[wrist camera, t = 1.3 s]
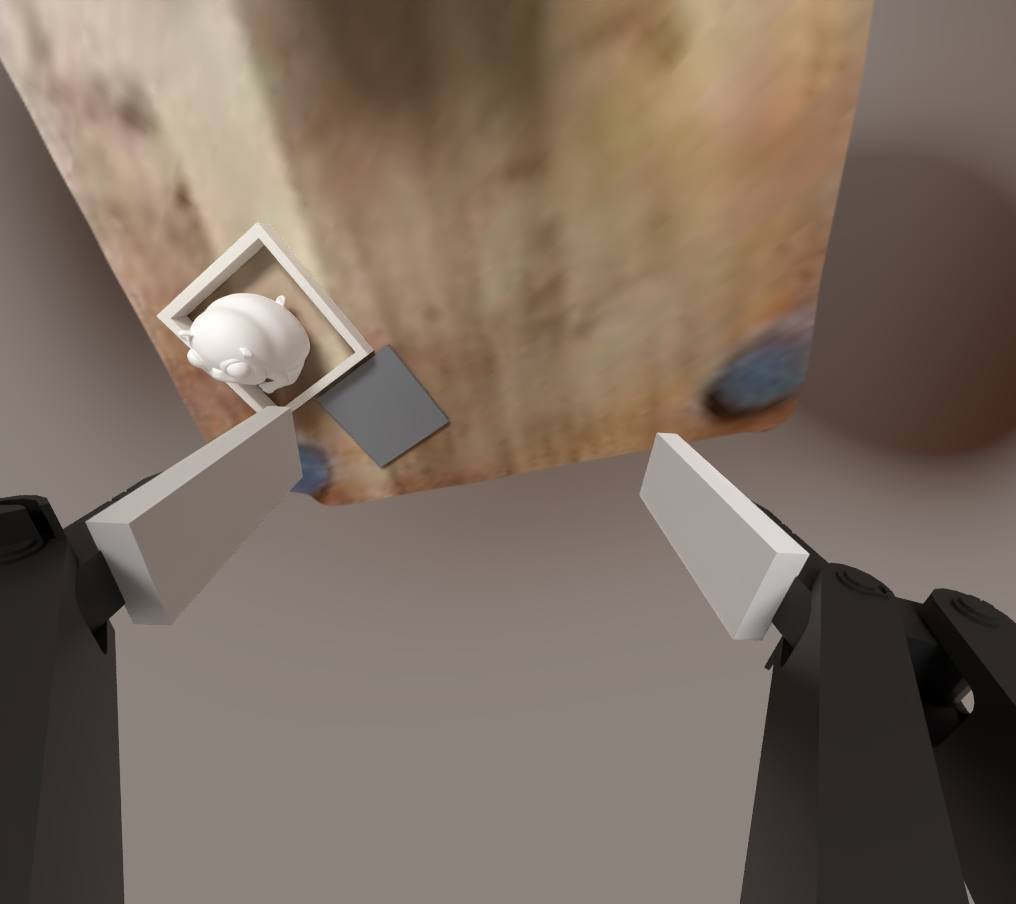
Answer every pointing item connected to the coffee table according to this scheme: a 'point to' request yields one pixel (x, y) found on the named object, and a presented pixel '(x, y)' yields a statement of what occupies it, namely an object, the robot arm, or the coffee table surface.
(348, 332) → the bin frame
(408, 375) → the coaster pad
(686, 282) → the coffee table surface
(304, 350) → the figurine
